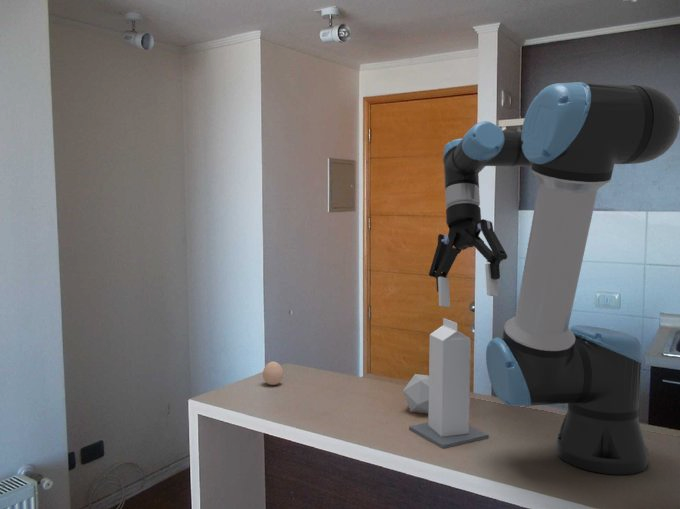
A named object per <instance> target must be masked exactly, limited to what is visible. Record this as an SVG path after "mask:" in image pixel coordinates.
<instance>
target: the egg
mask: <svg viewBox="0 0 680 509" xmlns="http://www.w3.org/2000/svg"><path fill="white" fill-rule="evenodd" d="M262 378H263V381H265V383H266V384H267V385H270V386H275V385H276V386H277V385H278V384H280V382H281V381H282V380H283V378H284V371H283V368H282V365H280V363H278V362H276V361H270V362H268V363H266V365H265V366H264V367H263V371H262Z"/></svg>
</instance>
